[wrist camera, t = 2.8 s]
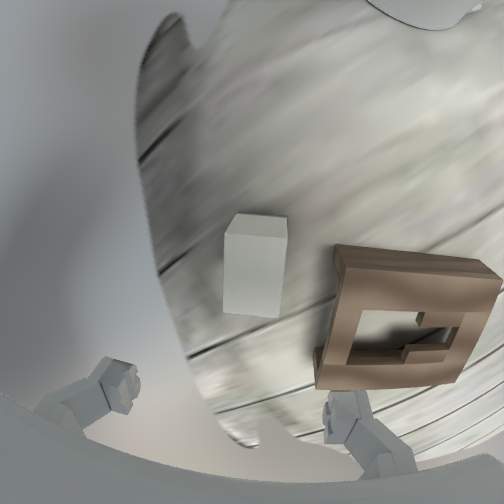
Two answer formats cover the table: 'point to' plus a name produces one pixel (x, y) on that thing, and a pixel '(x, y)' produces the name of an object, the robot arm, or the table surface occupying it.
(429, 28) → the robot arm
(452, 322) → the brown open frame
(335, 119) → the table surface
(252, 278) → the gray rectangular block
